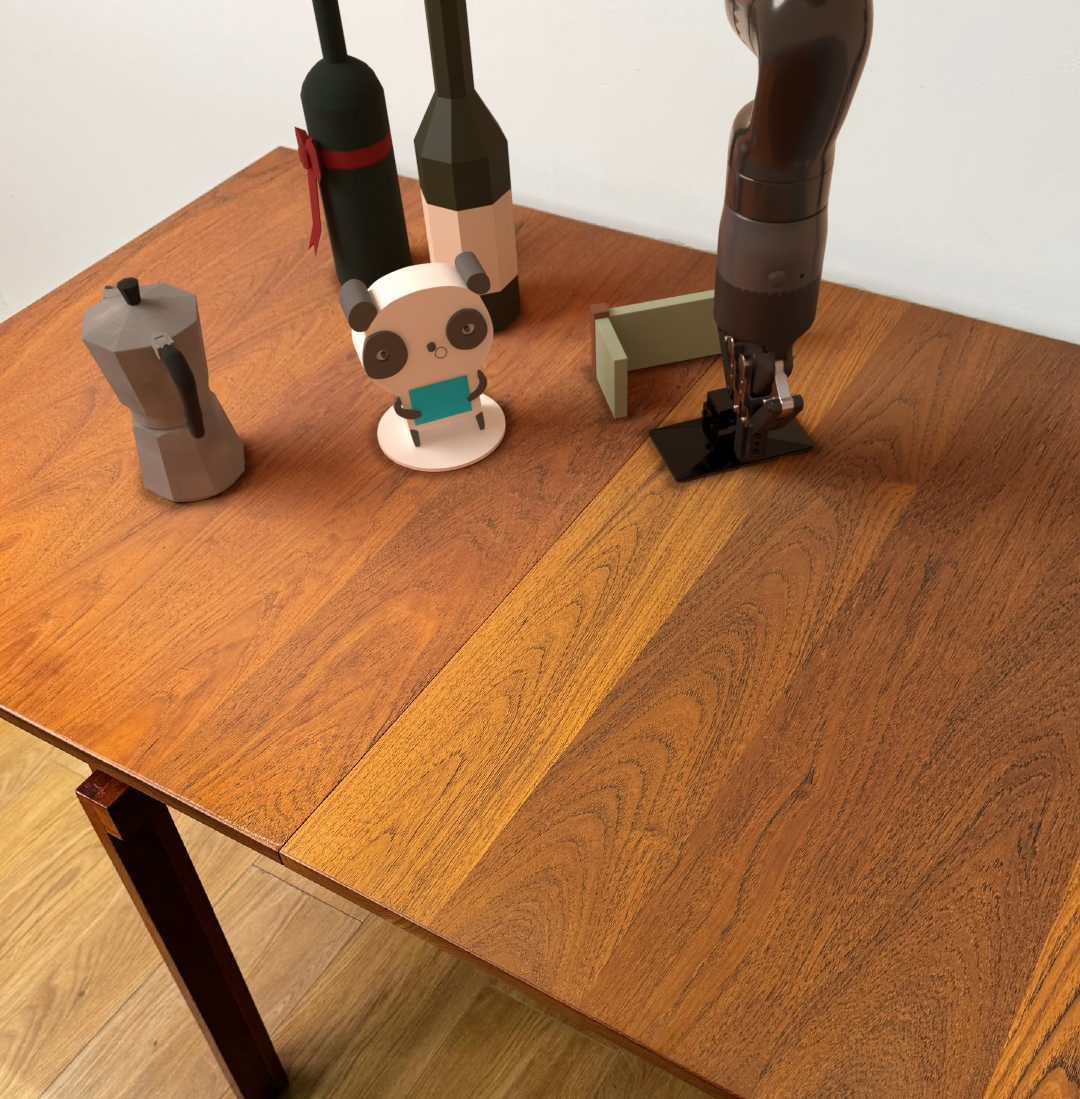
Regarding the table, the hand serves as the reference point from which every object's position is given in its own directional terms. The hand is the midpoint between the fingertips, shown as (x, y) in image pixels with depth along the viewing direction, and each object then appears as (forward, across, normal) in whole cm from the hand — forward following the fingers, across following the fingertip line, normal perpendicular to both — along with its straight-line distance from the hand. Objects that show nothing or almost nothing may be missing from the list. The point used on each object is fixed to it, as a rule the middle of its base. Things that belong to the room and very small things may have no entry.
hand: (748, 455), depth 96 cm
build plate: (+2, +4, 0) cm, 4 cm away
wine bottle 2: (+1, +30, +17) cm, 34 cm away
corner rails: (+1, +13, 0) cm, 13 cm away
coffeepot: (+2, +13, +45) cm, 47 cm away
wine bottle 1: (+1, +40, +27) cm, 48 cm away
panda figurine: (+2, +13, +24) cm, 27 cm away
